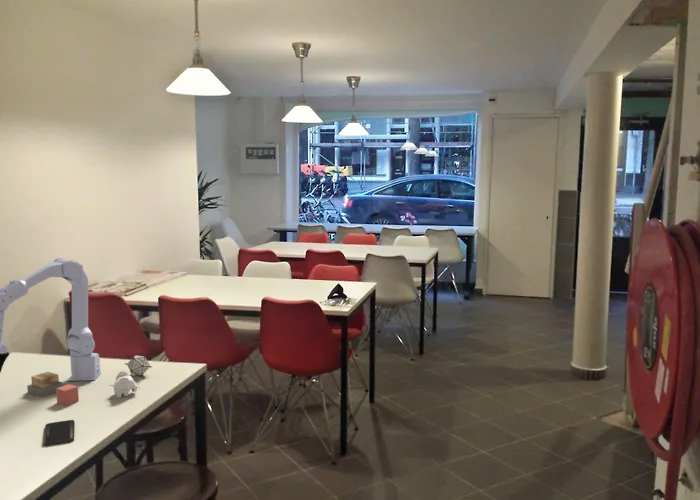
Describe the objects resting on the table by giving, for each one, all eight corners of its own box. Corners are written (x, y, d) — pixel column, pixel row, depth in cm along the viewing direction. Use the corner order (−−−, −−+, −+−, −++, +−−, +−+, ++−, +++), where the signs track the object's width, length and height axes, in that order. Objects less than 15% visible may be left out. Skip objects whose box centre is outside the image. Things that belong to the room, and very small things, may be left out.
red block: (70, 398, 207) (69, 384, 206) (78, 401, 205) (77, 386, 204) (57, 403, 203) (56, 388, 202) (66, 405, 201) (65, 390, 200)
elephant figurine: (141, 396, 209) (140, 375, 208) (110, 400, 205) (109, 379, 204) (139, 388, 216) (138, 368, 215) (109, 392, 212) (108, 372, 211)
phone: (74, 419, 188) (73, 439, 174) (74, 422, 188) (74, 442, 174) (45, 423, 185) (42, 444, 171) (45, 427, 185) (42, 448, 171)
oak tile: (48, 379, 217) (47, 371, 217) (58, 383, 214) (58, 374, 214) (31, 385, 212) (31, 376, 212) (42, 388, 209) (41, 379, 209)
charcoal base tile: (49, 386, 219) (49, 378, 219) (63, 391, 215) (63, 382, 215) (27, 393, 212) (27, 385, 212) (42, 398, 208) (41, 389, 208)
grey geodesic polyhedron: (144, 384, 231) (160, 362, 231) (130, 383, 223) (147, 361, 223) (130, 369, 234) (146, 348, 234) (115, 368, 226) (132, 346, 226)
